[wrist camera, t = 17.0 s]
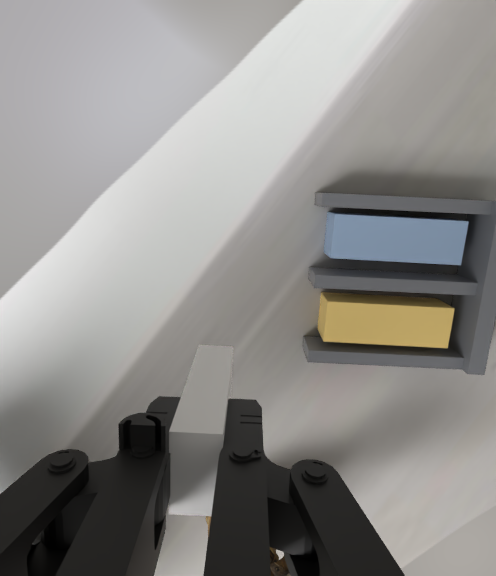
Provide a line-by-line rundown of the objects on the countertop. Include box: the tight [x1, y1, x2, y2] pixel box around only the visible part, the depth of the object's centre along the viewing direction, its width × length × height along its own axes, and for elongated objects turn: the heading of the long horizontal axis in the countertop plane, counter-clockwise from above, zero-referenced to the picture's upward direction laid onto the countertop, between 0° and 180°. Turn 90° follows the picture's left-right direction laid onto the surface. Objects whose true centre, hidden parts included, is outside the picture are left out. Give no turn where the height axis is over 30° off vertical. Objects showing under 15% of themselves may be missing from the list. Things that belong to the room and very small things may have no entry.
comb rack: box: [303, 192, 496, 375], centre depth 39 cm, size 17×16×5 cm
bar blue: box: [324, 212, 469, 265], centre depth 39 cm, size 12×4×4 cm, turn 87°
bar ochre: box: [317, 292, 455, 348], centre depth 41 cm, size 12×4×4 cm, turn 87°
